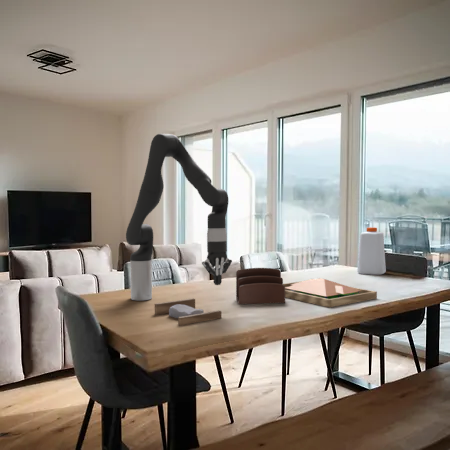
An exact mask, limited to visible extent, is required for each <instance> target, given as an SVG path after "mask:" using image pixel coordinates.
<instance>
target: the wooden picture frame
mask: <svg viewBox="0 0 450 450" xmlns="http://www.w3.org/2000/svg"><path fill="white" fill-rule="evenodd" d="M302 281H303V280H302ZM302 281H295V282H287V283H283V285H284V286H285V287H289V286H292V285H291V284H295V283H298V282H302ZM351 287H352V286H351ZM352 288H355V289H358V290H361V291H358V292H357V294H356V292H355V293H354V294H355V295H351V294H349V296H348V295H346V296H345V295H344V296H341V297H340V296H338V297H337V298H336V297H332V298H333V299H331V298H328V299H327V297H323V298H322V296H320V297H318V295H317V296H316V295H314V296H312V294H307V293H303V294H302V293H301V292H299V291H298V292H299V293H298V292H297V291H292V290H290V289H285V298H287V299H292V300H295V301H300V302H304V303H309V304H314V305H318V306H321V307H325V308H326V307H327V308H332V307H333V308H334V307H338V306H340V307H341V306H343V305H349V304H355V303H359V302H360V303H361V302H366V301H370V300H376V299H378V291H377V290H376V291H375V290H368V289H364V288H357V287H354V286H353V287H352Z"/></svg>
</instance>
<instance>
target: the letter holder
mask: <svg viewBox="0 0 450 450" xmlns="http://www.w3.org/2000/svg"><path fill="white" fill-rule="evenodd" d="M235 273H236V274H235V279H236V280H235V282H236V283H235V284H236V286H235V287H236V289H235V293H236V294H235V296H236V302H237V303H238V305H260V304H262V305H263V304H265V305H267V304H286V297H285V286H284V285H283V284H284V279H283V277H281V276H282V271H281V270H280V269H278V268H271V267H254V268H253V267H251V268H242V269H241V268H240V269H238V270H236V272H235Z"/></svg>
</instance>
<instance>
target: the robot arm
mask: <svg viewBox="0 0 450 450" xmlns="http://www.w3.org/2000/svg"><path fill="white" fill-rule="evenodd" d="M149 146H150V147H149V153H148V158H147V164H146V167H145V168H146V169H145V173H144V176H143V180H142V183H141V185H140V190H139V193H138V197H137V200H136V203H135V208H134V210H133V213H132V215H131V217H130V220H129V223H128V225H127V229H126V231H125V240H126V242H127V244H128V245H130V246H139V247H138V249H137V250H135V251H134V252H131V254H130V261H129V262H130V265H129V266H130V300H132V301H138V302H139V301H149V300H152V299H153V280H152V279H153V274H152V273H153V268H152V266H153V265H152V264H153V263H152V258H153V252H154V229H153V228H152V226H151V225H150V224H148V223H144V221H145V219H147V217H148V216H149V215H150V214H151V213H152V212H153V210H154V209H155V208H156V207H157V206H158V205H159V203H160V201H161V199H162V195H163V192H164V179H163V175H162V168H163V165H164V164H163V163H164V161H165V158H172V159H174V160H175V161H177V163H179V165H180V166H181V168H182V172H183V175H184V177H185V179H186V180H187V181H188V183H190V184H191V185H192V187H193V188H194V189H195V190H197V193H198V194H199V196H200V198H201V199H202V201H203V202H204V203H205V204H206V205H207V206H210V207H212V209H211V212H210V213H209V214H208V215H207V230H206V231H207V233H206V243H207V244H206V247H207V256H206V259H205V260H204V261H202V262H201V264H202V266H203V267H204V268H205V270H206V271H207V273H209V274H211V275H213V277H212V278H213V284H214V285H215V286H221V284H222V275H223V274H226V272H227V271H228V269H229V268H230V266H231V264H232V263H233V260H232V259H229V258H228V255H227V251H228V249H227V248H228V247H227V244H228V243H227V242H228V241H227V240H228V239H227V238H228V237H227V229H226V227H227V222H226V221H227V220H226V217H227V213H228V207H229V196H228V192H227V191H226V190H225V189H223V188H216V187H215V186H214V185H213V184H212V179H211V178H210V176H209V175H208V174H207V173H206V172H205V171H204V170H203V169H202V168H201V167H200V166H199V164H197V162H196V161H195V160H194V159H193V157H192V156H191V154H190V153H189V151H188V150H187V148H186V147H185V145H184V144H183V143H182V141H181V140H180V138H179V137H178V136H177V135H175V134H172V133H158V134H156V135H154V137H152V140H151V143H150V145H149Z"/></svg>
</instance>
